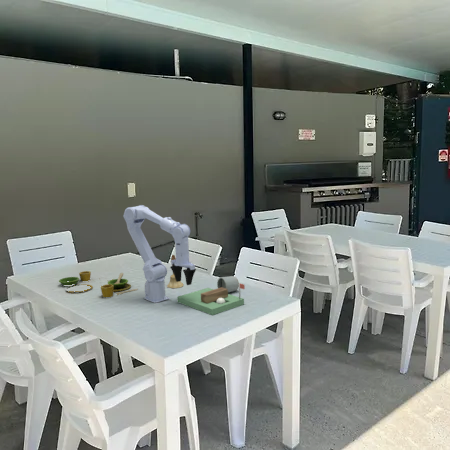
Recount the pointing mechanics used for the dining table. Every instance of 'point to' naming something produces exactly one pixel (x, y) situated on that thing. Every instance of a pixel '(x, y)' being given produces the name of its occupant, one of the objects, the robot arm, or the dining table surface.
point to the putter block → (214, 295)
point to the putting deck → (212, 307)
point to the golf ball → (220, 301)
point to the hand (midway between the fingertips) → (183, 282)
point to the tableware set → (107, 289)
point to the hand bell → (172, 279)
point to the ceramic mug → (228, 283)
